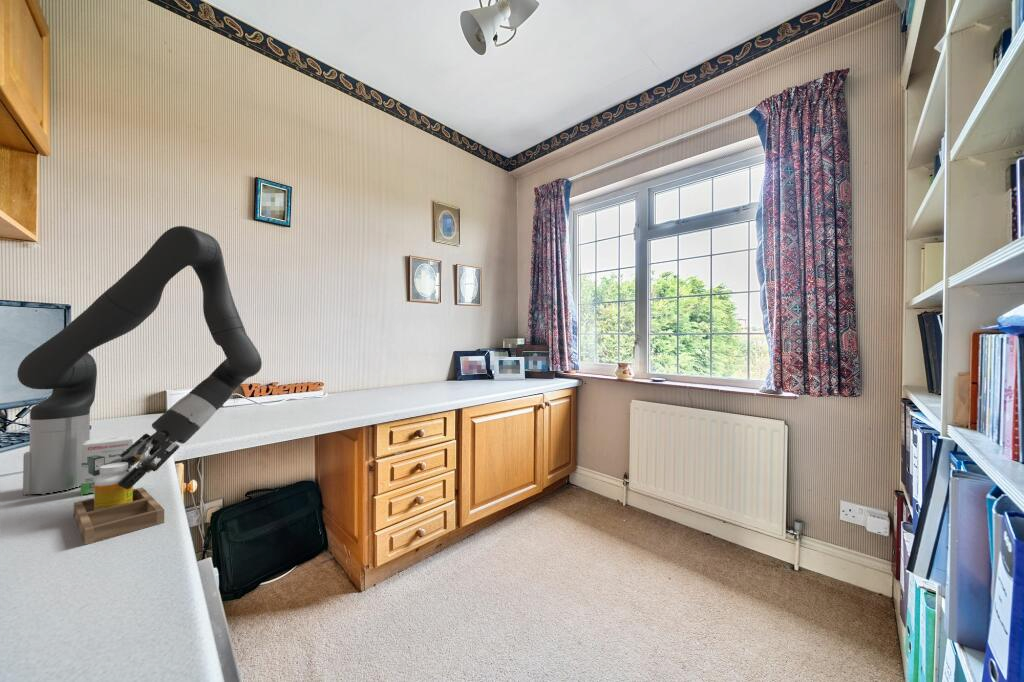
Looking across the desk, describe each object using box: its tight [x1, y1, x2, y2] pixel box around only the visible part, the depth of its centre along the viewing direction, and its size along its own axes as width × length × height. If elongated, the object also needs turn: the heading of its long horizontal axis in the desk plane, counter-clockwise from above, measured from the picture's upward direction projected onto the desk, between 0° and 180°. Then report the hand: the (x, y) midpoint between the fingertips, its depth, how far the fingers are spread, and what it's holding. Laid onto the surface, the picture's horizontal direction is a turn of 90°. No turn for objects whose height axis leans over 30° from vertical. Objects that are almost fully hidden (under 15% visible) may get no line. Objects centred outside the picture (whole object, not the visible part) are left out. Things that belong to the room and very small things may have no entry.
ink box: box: [79, 435, 136, 496], centre depth 89 cm, size 9×5×12 cm, turn 133°
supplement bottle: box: [93, 462, 134, 510], centre depth 76 cm, size 5×5×10 cm
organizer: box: [73, 486, 165, 546], centre depth 73 cm, size 20×10×2 cm, turn 53°
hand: (115, 483), depth 76 cm, fingers open, 8 cm apart
